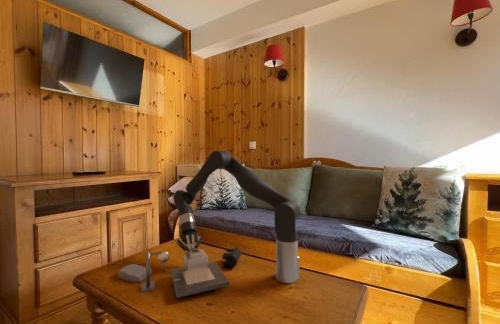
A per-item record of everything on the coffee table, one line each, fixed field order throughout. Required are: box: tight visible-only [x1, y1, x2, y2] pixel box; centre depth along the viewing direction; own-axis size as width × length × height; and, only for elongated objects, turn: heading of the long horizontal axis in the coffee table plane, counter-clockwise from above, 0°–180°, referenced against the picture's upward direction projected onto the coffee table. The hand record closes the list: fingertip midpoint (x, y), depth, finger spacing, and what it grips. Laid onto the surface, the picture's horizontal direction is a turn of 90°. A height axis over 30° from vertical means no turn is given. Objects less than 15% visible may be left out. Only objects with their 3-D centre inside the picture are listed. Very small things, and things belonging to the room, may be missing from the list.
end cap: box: [221, 247, 242, 270], centre depth 119 cm, size 10×7×7 cm
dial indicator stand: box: [140, 250, 171, 293], centre depth 98 cm, size 11×5×14 cm, turn 115°
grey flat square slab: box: [169, 261, 230, 299], centre depth 101 cm, size 20×20×2 cm
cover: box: [183, 248, 209, 277], centre depth 105 cm, size 8×8×9 cm
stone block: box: [117, 263, 152, 283], centre depth 107 cm, size 12×5×10 cm
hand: (192, 258), depth 111 cm, fingers closed
